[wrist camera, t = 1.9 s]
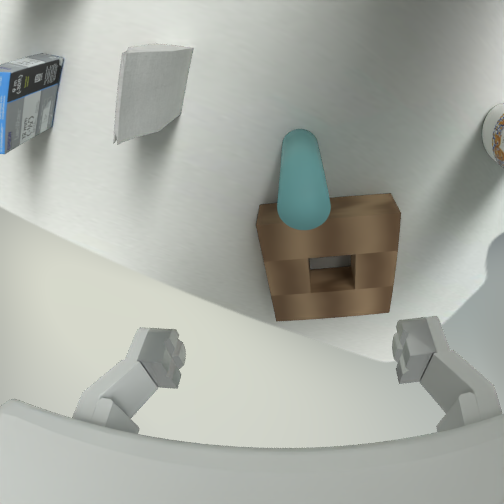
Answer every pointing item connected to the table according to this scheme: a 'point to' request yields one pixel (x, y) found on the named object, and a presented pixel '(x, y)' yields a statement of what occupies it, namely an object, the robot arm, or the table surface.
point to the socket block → (332, 244)
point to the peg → (302, 183)
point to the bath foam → (494, 134)
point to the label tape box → (27, 98)
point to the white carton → (150, 89)
